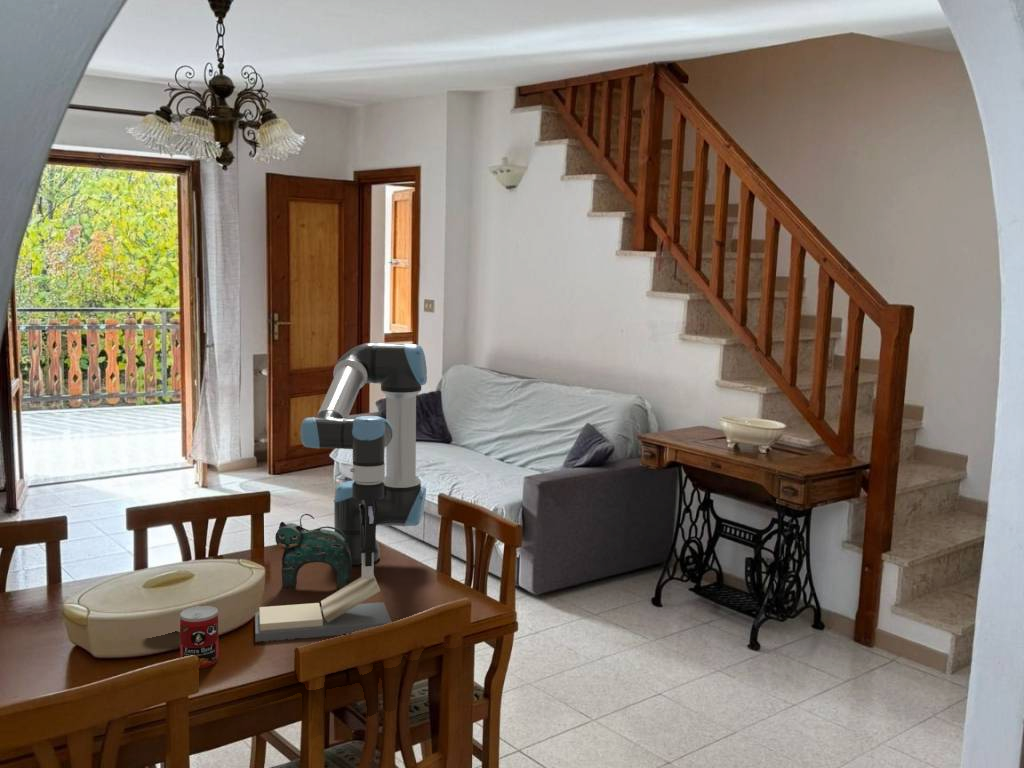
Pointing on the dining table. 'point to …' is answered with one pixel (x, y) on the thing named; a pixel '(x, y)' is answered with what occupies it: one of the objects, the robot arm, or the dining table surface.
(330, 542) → the ceramic cat
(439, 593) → the dining table surface
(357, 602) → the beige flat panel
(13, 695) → the dining table surface
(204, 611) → the canned food
